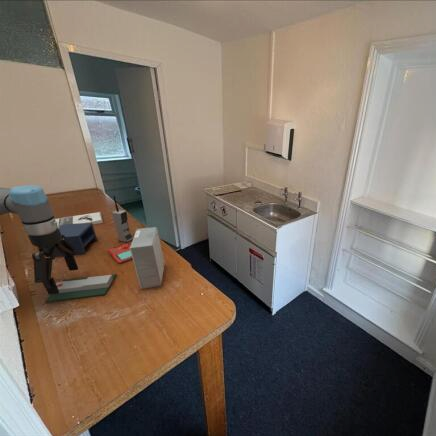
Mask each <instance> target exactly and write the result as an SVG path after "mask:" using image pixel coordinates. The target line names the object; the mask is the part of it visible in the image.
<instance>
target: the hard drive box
mask: <svg viewBox="0 0 436 436" xmlns="http://www.w3.org/2000/svg"><path fill="white" fill-rule="evenodd" d="M161 244H162V243H161V241H160V235H159V230H158V227H157V226H153V227H143V228H136V230H135V233H134V236H133V239H132V240H131V244H130V251H131V255H132V262H133V265H134V269H135V273H136V277H137V280H138V284H139V289H140V290H145V289H152V288H156V287H161V286H162V284H163V276H164V271H165V265H166V263H165V258H164V254H163V250H162V245H161Z"/></svg>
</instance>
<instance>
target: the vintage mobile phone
mask: <svg viewBox="0 0 436 436" xmlns="http://www.w3.org/2000/svg"><path fill="white" fill-rule="evenodd" d="M112 198H113V201H114V206H115V210H113V211H112V212H111V216H112V219H113V224H114V226H115V230H116V234H117V238H118V241H119V242H123V243H128V242H129V243H130V242H131V241H133V238H134V236H133V235H132V234H131V231H130V227H129V223H128V214H127V213H128V212H127V210H124V209H123V210H122V209H119V206H118V203H117V200H116V195H113V197H112Z"/></svg>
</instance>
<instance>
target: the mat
mask: <svg viewBox="0 0 436 436" xmlns="http://www.w3.org/2000/svg"><path fill="white" fill-rule="evenodd" d="M105 275H106V274H103V275H102V276H105ZM111 275H112V277H113V280H112V282H111V284H110V286H109V287H108V288H100V289H92V290H81V291H73V292H65V293H58V294H50V295H49V297H47V298H46V300H45V301H44V302H45V304H48V303H49V304H50V303H56V302H65V301H72V300H79V299H87V298H88V299H89V298H93V297H102V296H106V295H107V293H108V291H109V290H110V288H111V286H112V284H113V283H114V281H115V279H116V278H117V276H118V275H117V273H113V274H112V273H111ZM96 276H97V275H94V276H92V277H96ZM88 277H89V276H86V277H85V276H83V277H76V278H68V279H67V278H66V279H63V280H62V281H61V282H64V281H73V280H82V279H87V278H88Z"/></svg>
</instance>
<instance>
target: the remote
mask: <svg viewBox="0 0 436 436" xmlns="http://www.w3.org/2000/svg"><path fill="white" fill-rule="evenodd" d="M104 275H105V276H103V275H95V276H96V277H93V276H87V277H88V278H87V279H82V280H73V281H64V282H62V281H57V282H55V283H56V285H57V288H58V290H59V293H65V292H73V291H81V290H92V289H100V288H108V287H109V286H110V284H111V282H112V280H113V277H112V274H104ZM111 285H112V284H111ZM110 287H111V286H110Z"/></svg>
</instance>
